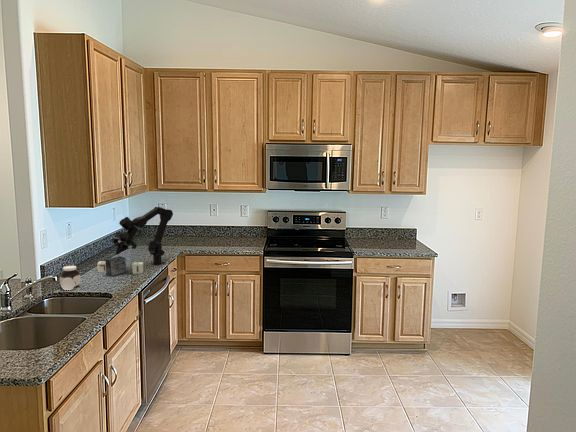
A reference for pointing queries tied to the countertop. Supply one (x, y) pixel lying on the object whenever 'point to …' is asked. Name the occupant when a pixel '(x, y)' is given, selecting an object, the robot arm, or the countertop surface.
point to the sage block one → (137, 267)
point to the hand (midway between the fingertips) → (116, 254)
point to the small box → (115, 266)
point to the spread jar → (70, 278)
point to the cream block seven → (101, 266)
